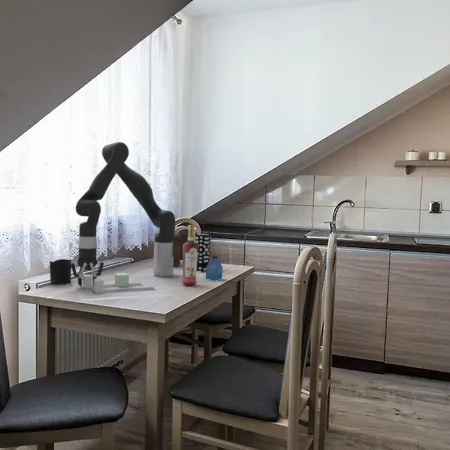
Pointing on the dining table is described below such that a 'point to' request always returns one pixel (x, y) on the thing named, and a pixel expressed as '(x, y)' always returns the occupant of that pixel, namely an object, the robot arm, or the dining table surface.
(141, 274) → the dining table surface
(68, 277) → the pen holder
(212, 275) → the perfume bottle
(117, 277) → the block
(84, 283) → the strip
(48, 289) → the dining table surface
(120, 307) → the dining table surface
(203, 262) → the spotted tube
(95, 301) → the dining table surface
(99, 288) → the strip
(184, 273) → the liquor
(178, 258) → the wooden container
